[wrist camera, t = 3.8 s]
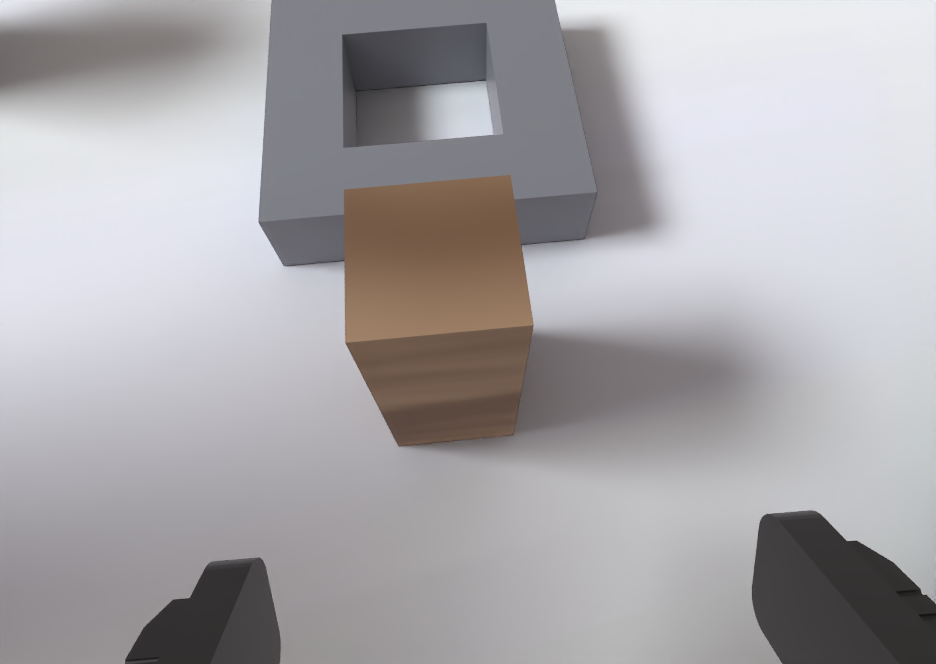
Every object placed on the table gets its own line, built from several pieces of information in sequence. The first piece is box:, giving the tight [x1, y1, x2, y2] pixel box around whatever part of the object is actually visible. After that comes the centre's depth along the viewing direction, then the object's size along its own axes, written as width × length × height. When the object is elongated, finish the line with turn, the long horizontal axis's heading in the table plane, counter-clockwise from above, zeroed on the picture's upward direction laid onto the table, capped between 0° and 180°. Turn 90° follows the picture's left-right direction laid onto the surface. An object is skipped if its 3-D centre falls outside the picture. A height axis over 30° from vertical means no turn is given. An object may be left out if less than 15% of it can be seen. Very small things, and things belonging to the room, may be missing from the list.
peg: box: [344, 175, 533, 446], centre depth 18 cm, size 4×4×9 cm
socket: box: [259, 0, 597, 266], centre depth 25 cm, size 12×12×3 cm
